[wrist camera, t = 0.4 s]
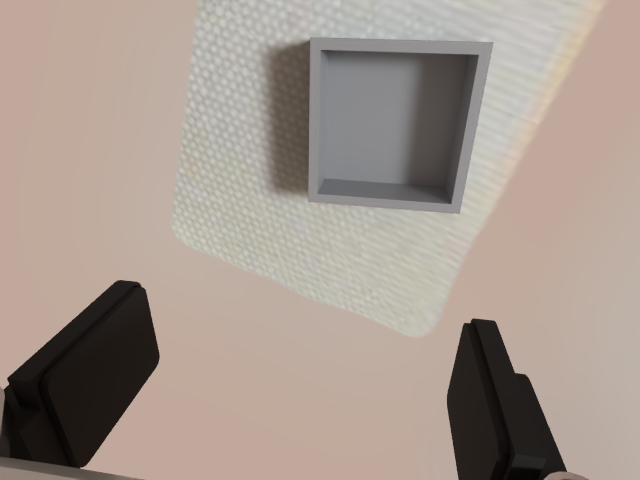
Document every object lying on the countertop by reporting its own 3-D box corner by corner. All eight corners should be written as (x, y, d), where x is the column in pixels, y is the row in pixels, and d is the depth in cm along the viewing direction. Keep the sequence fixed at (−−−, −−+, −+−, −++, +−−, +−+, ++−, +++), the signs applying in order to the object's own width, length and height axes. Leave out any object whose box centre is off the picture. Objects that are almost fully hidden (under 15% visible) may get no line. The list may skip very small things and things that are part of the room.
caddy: (320, 37, 34) (310, 37, 30) (479, 42, 32) (493, 42, 28) (317, 183, 40) (308, 201, 35) (451, 193, 38) (459, 213, 34)
